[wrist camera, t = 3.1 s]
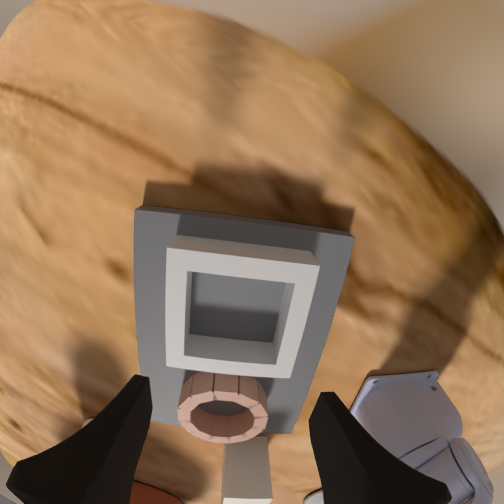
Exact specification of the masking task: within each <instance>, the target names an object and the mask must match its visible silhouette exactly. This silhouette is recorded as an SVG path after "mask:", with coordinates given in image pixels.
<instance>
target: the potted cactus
mask: <svg viewBox="0 0 504 504" xmlns="http://www.w3.org/2000/svg"><path fill="white" fill-rule="evenodd" d="M130 504H182V502H181V501H180V500H179V499H177V498H176V497H174V496H172V495H171V494H169V493H166V492H164V491H162V490H159V489H157V488H154V487H151V486H148V485H145V484H142V483H139V482H136V481H133V485H132V491H131V498H130Z"/></svg>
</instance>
